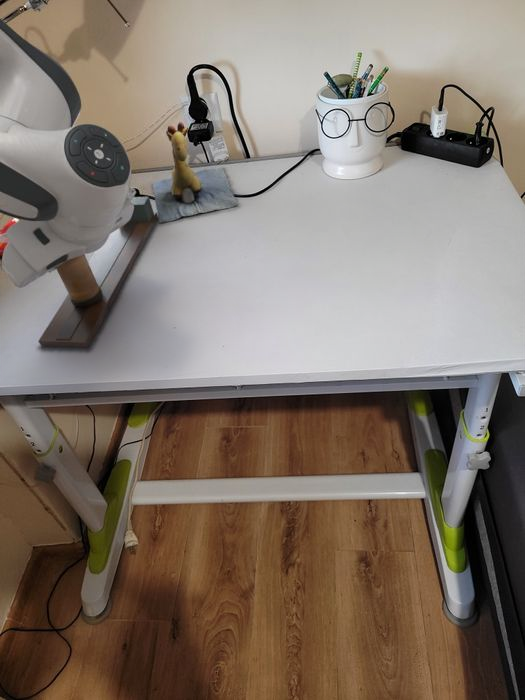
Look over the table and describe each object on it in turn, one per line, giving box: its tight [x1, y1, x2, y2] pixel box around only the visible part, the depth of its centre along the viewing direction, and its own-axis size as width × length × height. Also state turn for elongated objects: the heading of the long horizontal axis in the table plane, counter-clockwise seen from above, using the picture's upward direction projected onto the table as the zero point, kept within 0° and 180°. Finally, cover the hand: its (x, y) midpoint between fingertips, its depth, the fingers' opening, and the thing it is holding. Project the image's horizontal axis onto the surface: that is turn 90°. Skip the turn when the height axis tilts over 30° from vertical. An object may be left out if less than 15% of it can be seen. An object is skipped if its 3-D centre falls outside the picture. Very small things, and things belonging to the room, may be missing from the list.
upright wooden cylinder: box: [56, 254, 102, 307], centre depth 79 cm, size 5×5×15 cm
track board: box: [37, 211, 159, 349], centre depth 91 cm, size 37×8×1 cm, turn 171°
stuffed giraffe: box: [152, 121, 238, 223], centre depth 103 cm, size 16×18×16 cm
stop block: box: [128, 196, 154, 222], centre depth 100 cm, size 3×7×5 cm, turn 81°
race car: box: [0, 217, 20, 257], centre depth 101 cm, size 13×5×4 cm, turn 153°
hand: (66, 256), depth 79 cm, fingers closed on upright wooden cylinder, 5 cm apart
